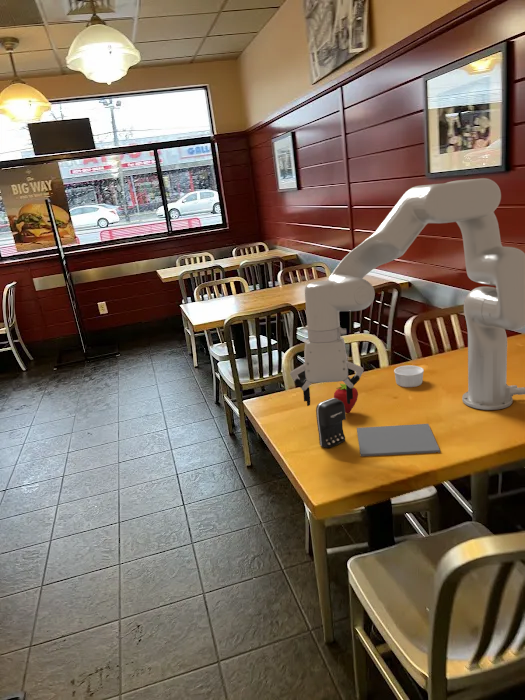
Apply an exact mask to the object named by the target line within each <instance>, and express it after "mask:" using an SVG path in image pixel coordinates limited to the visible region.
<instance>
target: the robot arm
mask: <svg viewBox="0 0 525 700" xmlns="http://www.w3.org/2000/svg"><path fill="white" fill-rule="evenodd" d="M501 200H502V192H501V189H500V187H499V185H498V184H497V182H495V180H492V179H490V178H486V177H485V178H484V177H481V178H473V179H472V178H471V179H460V180H459V179H458V180H453V181H447V182H445V183H432V184H422V185H415V186H413V187H410V188H409V189H408V190H406V191H405V192H404V193H403V195H402V196H400V198H399V200H398V201H397V202H396V203H395V204H394V206H393V207H392V209H391V210H390V211H389V213H388V214H387V215H386V216H385V218H384V219H383V221H382V222H381V223H380V224H379V226H378V227H377V228H376V230H375V231H374V232H373V233H372V234H371V235H369V236H368V237H367V238H365V240H363V241H362V242H360V244H358V245H357V246H356V247H355V248H353V249H352V250H350V252H349V253H348V254H346V255H345V256H344V257H343V258H342V260H340V262H339V263H338V264H337V266H336V267H335V268H334V270H333V271H332V272H331V274H330V276H328V279H327V280H319V281H312V282H310V283H308V284H306V286H305V287H304V302H305V313H306V314H305V315H306V326H307V338H308V339H305V342H304V363H303V364H301V365H300V366H298V367H296V368H294V369H293V370H291V371H290V374H289V375H290V377H291V378H292V379H293V382H294V384H296V385H297V386H298V387H299V388H300V389H301V390H302V391H303V402H306V405H307V407H309V406H311V390H310V385H311V384H314V383H315V384H319V383H338V382H343V384H346V393H347V403H348V404H350V399H353V390H352V388H353V387H355V386H356V384H357V383H358V382H359V381H360V379H361V377H362V375H363V373H364V367H362V366H360V365H358V364H355V363H353V362H351V361H348V354H347V348H346V342H345V339H344V337H342V336H343V335H347V328H342V327H341V325H340V322H341V321H340V312H359V311H363V310H365V309H367V308H369V307H370V306H371V305H372V303H373V302H374V300H375V295H376V293H375V288H374V286H373V285H372V284H371V283H370V281H368V280H366V279H364V277H366V276H367V275H368V274H369V273H370V272H371V271H373V270H375V269H376V268H378V267H379V266H382V265H385V264H388V263H390V262H393V261H395V260H397V259H398V258H401V257H403V256H404V254H405V253H406V252H407V250H408V249H409V248H410V246H411V245H412V244H413V243H414V241H415V240H416V239H417V237H418V236H419V235H420V234H421V232H423V231H422V230H424V228H425V227H426V226H427V225H428V224H448V223H456V224H457V226H458V227H459V229H460V232H461V235H462V243H463V251H464V252H463V253H464V262H465V270H466V271H465V272H466V275H467V277H468V279H470V280H471V281H473V282H475V283H476V284H477V283H478V284H482V285H488V286H478V287H475V288H473V289H472V290H470V291H469V292H468V293H467V294H466V295H465V297H464V298H465V299H464V301H463V302H464V303H463V313H464V317H465V321H466V328H467V372H468V373H467V383H468V386H467V388H468V389H467V391H466V392H464V393H463V394H462V397H461V398H462V403H463V404H465V405H466V406H468V407H470V408H473V409H476V410H484V411H497V410H501V409H506V408H509V407H510V406H511V405H512V404H513V401H514V400H513V397H514V395H517V396H518V395H519V396H521V395H523V396H524V395H525V387H524V386H522V387H518V385H516V384H515V385H514V384H512V385H509V384H507V371H508V370H507V369H508V367H507V365H508V364H507V363H508V361H507V359H508V358H507V357H508V336H507V333H506V330H508V331H518V330H522V329H524V328H525V252H524V251H523V250H522V249H519V248H517V247H513V246H503V244H502V240H501V233H500V228H499V227H500V226H499V222H498V218H497V216H496V214H495V210H497V208H498V207H499V205H500V203H501ZM494 286H495V287H494ZM349 370H352V371H354V372H355V374H354V375H353V376H352V377H350V376H349ZM303 372H304V376H305V379H304V380H303V379H301V378H300V377H299V375H300V374H301V373H303Z"/></svg>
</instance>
